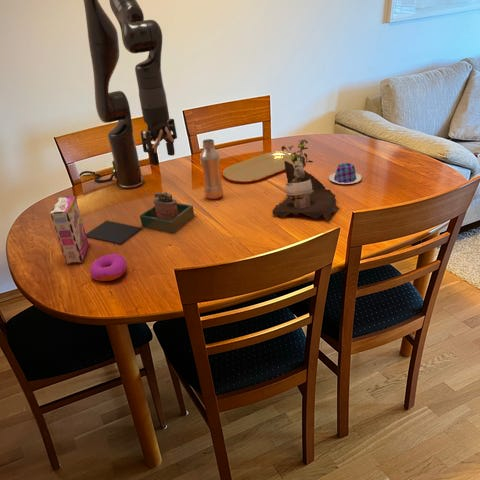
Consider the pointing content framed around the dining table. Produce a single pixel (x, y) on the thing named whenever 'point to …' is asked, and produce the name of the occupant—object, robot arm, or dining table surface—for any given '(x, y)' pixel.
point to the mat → (113, 232)
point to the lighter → (165, 206)
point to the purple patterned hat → (345, 174)
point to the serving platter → (258, 167)
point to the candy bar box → (70, 229)
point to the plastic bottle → (211, 170)
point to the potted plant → (304, 190)
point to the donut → (108, 267)
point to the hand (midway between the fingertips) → (163, 159)
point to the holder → (172, 226)
